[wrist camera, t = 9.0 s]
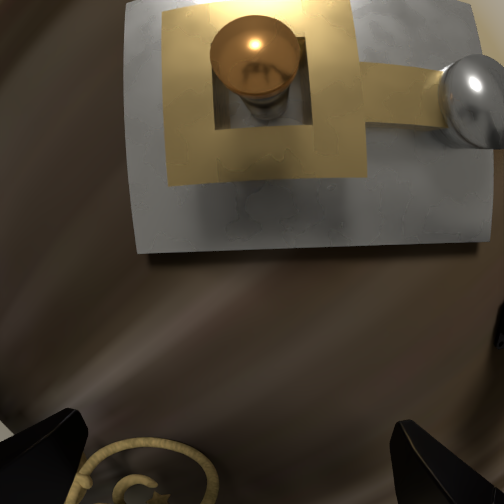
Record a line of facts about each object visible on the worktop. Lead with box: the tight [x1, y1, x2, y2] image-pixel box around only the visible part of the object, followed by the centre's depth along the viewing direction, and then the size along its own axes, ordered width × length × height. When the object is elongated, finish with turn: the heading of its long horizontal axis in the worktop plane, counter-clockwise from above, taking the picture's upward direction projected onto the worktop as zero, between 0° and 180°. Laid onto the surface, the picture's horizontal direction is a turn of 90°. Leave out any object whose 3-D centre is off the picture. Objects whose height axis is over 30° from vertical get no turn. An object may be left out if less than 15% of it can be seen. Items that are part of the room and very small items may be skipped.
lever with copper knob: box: [210, 15, 300, 120], centre depth 12 cm, size 3×3×8 cm
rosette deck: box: [124, 0, 504, 254], centre depth 14 cm, size 22×16×6 cm
